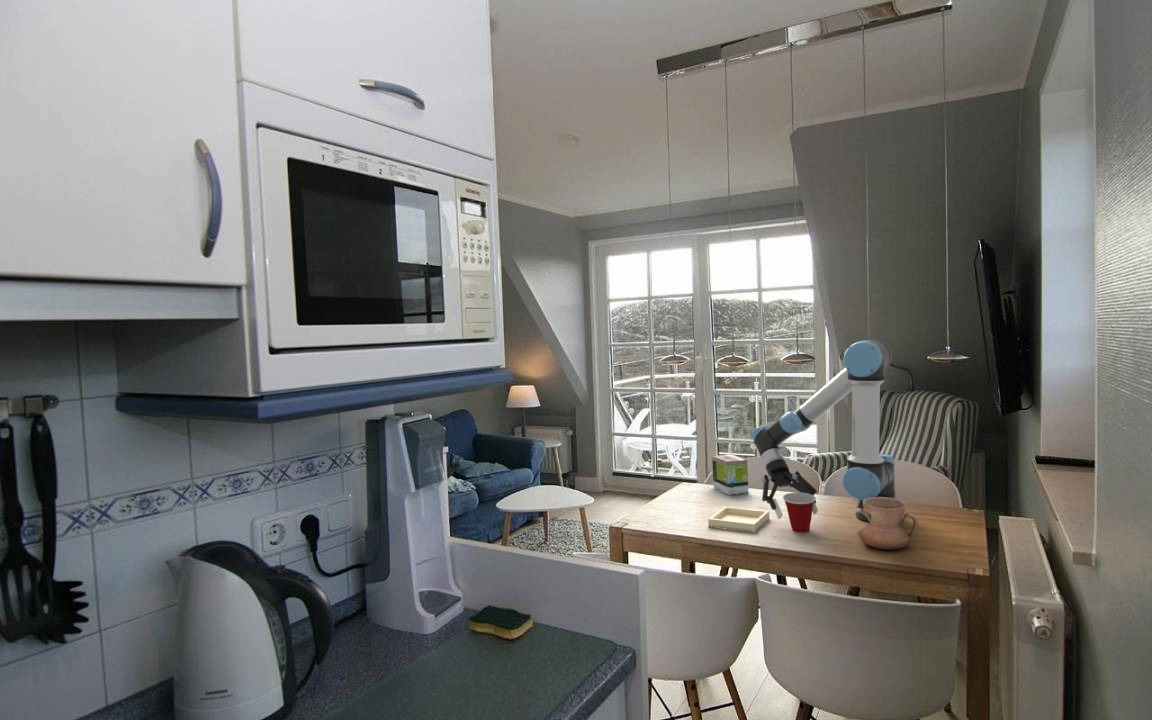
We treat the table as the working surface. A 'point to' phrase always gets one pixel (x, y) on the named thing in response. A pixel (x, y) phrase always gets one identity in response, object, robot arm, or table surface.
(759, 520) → the tray
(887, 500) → the ceramic jug
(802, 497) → the plastic cup
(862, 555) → the table surface
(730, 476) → the tea box
